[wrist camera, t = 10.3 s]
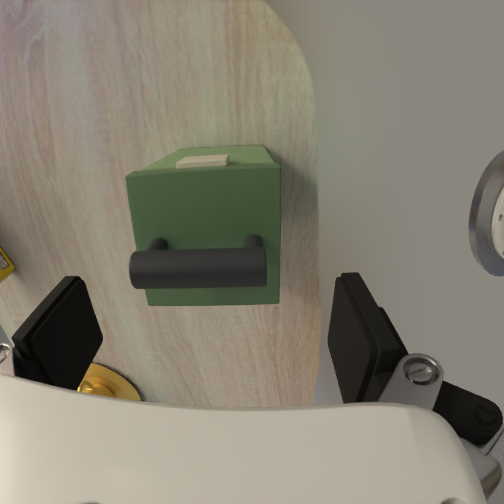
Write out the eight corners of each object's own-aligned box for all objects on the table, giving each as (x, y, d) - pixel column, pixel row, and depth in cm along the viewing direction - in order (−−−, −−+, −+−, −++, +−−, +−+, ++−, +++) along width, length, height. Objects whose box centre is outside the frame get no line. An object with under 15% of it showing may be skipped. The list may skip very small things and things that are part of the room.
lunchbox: (264, 140, 24) (291, 173, 10) (266, 225, 27) (286, 345, 13) (177, 144, 24) (92, 186, 10) (184, 228, 27) (130, 345, 13)
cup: (154, 415, 39) (147, 444, 34) (89, 411, 40) (80, 436, 35) (121, 360, 34) (108, 391, 29) (53, 359, 35) (37, 385, 30)
